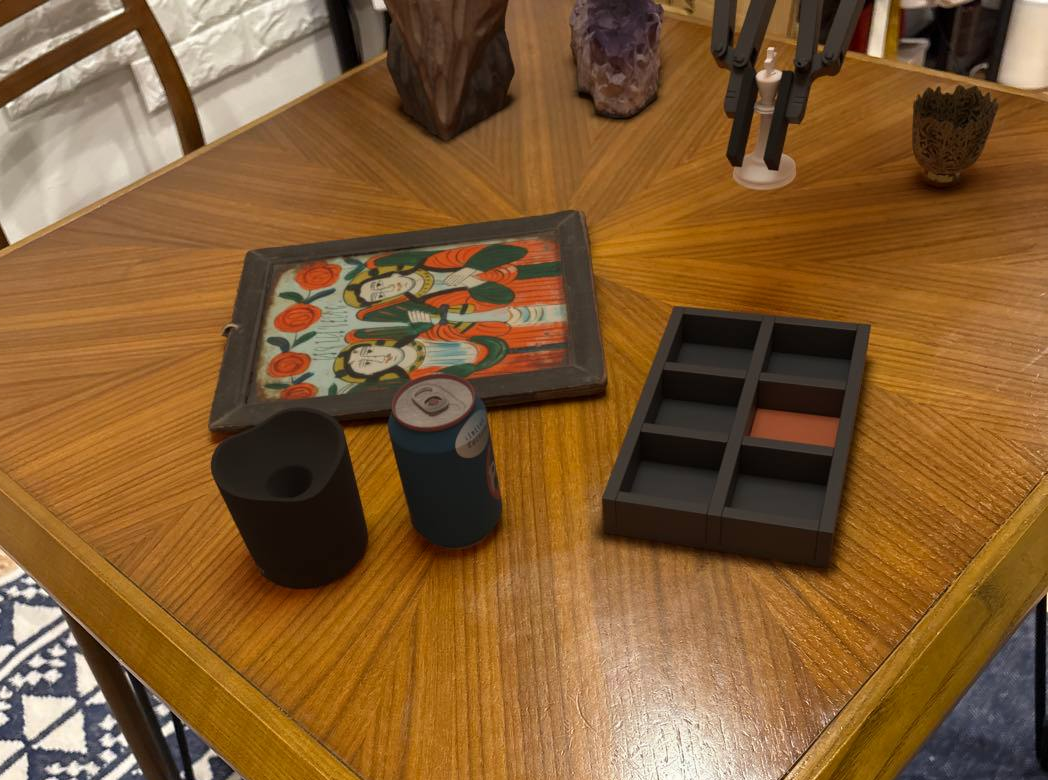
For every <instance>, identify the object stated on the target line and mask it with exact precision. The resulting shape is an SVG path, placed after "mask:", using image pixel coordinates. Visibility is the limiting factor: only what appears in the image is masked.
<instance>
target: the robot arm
mask: <svg viewBox="0 0 1048 780" xmlns="http://www.w3.org/2000/svg"><path fill="white" fill-rule="evenodd" d="M866 1H867V0H840V2H839V4H838V7H837V10H836V12H835V15H834V18H833V21H832V23H831V27H830V29H829V32H828V34H827V38H826V41H825V43H824V46H823V49H822V51H821V52H818V51H819V41H820V32H821V25H822V17H823V16H822V15H823V8H824V7H823V6H824V0H801V4H800V10H799V21H798V28H797V29H798V31H797V37H796V48H795V54H794V58H793V59H792V63H793V66H794V70H784V69H783V70H782V71H781V72H782V76H781V80H780V85H779V89H778V93H777V95H776V97H775V99H776V103H775V107H774V112H773V116H772V121H771V125H770V130H769V135H768V139H767V144H766V148H765V153H764V157H763V160H764V162H765V164H766V166H767V168H768V170H773V171H778V170H779V165H780V161H781V156H782V153H783V151H784V147H785V143H786V138H787V134H788V128H789V125H799V126H800V125H801V123H802V122H803V120H804V119H805V116H806V110H807V106H808V101H809V97H810V94H811V93H810V92H811V90H812V89H811V88H812V85H813V83H814V82H815V81H816V80H817V79H819V78H822V77H826V76H828V77H835V76H837V75H838V74H839V73H840V72H841V70H842V67H843V64H844V62H845V59H846V56H847V54H848V51H849V48H850V45H851V43H852V40H853V36H854V34H855V31H856V28H857V25H858V23H859V20H860V18H861V16H862V12H863V9H864V6H865V3H866ZM776 2H777V0H750V1H749V5H748V8H747V11H746V14H745V17H744V20H743V23H742V27H741V29H740V31H739V36H738V39H737V42H736V44H735V34H736V21H737V9H738V0H714V4H713V14H712V15H713V16H712V28H711V40H710V53H711V55H712V57H713V59H714V62H715V63H716V65H717V67H718V68H720V69H723V70H724V69H725V70H727V71H729V72H730V73H729V78H728V83H727V87H726V93H725V97H724V102H723V109H724V113H725V115H726V117H727V119H731V120H733V121H732V125H731V130H730V134H729V139H728V142H727V143H728V144H727V148H726V152H725V157H726V159H727V160H728V162H729V163H730V165H731V167H733V168H734V167H742V164H743V159H744V156H745V155H746V150H747V145H748V140H749V136H750V131H751V128H752V122H753V118H754V113H755V111H754V109H753V107H754V104H755V103H756V102H757V101H758V100H757V99H758V96H759V88H758V85H757V83H756V75H757V73H758V72H757V70H756V68H755V67H756V64H757V61H758V58H759V55H760V52H761V50H762V47H763V43H764V40H765V36H766V33H767V30H768V27H769V25H770V22H771V18H772V15H773V12H774V10H775V6H776ZM734 44H735V48H734Z"/></svg>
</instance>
